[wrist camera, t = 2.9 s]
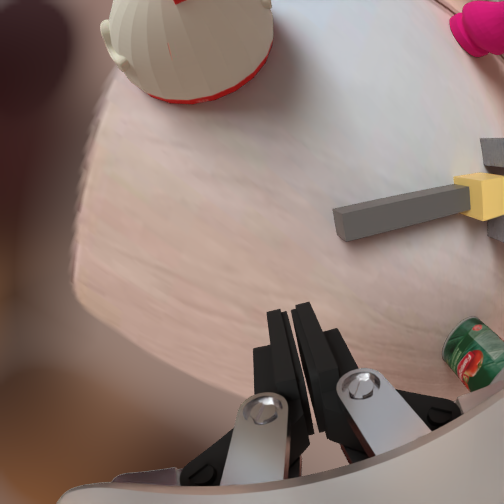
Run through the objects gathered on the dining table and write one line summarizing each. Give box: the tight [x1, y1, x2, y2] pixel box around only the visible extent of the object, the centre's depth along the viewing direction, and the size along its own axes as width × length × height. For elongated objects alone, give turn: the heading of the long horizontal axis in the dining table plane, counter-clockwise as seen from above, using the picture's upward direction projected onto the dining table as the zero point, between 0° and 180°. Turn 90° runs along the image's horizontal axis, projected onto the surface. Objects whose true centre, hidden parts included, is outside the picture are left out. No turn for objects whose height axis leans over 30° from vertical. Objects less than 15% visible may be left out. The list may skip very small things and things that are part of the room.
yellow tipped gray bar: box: [333, 173, 504, 242], centre depth 21 cm, size 4×20×5 cm, turn 104°
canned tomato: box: [442, 316, 504, 392], centre depth 24 cm, size 8×8×11 cm
